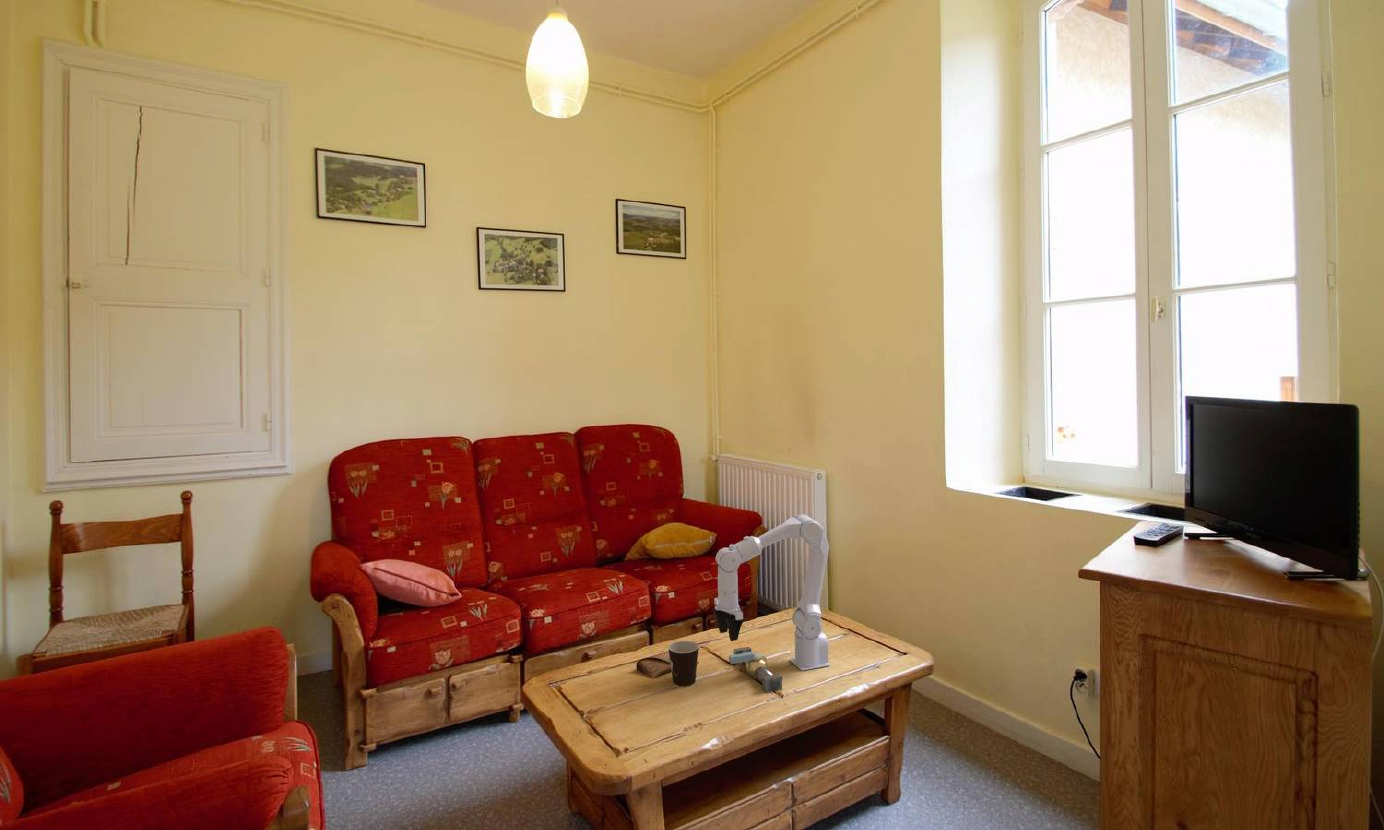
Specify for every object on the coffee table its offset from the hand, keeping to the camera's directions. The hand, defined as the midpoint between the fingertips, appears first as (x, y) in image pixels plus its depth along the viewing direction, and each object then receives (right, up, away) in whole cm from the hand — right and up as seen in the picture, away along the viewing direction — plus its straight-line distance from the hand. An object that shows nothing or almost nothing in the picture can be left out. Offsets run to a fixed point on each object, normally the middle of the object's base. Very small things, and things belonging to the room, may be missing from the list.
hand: (728, 636), depth 195 cm
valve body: (+8, -10, -2) cm, 13 cm away
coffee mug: (-13, -11, -4) cm, 17 cm away
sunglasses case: (-18, -11, +5) cm, 21 cm away
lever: (+5, -6, -3) cm, 8 cm away
